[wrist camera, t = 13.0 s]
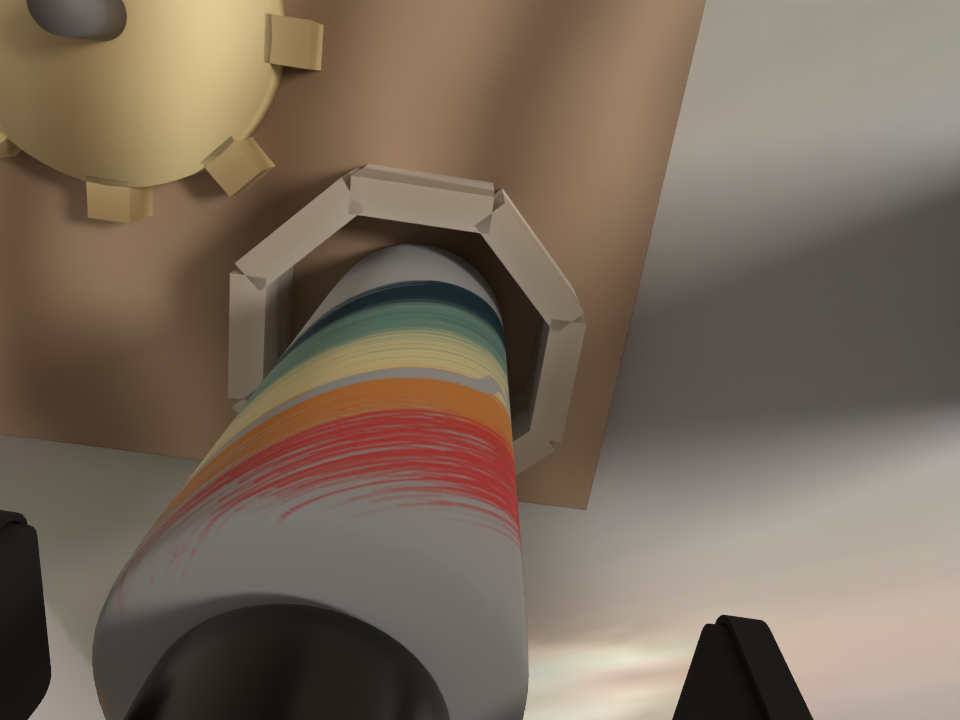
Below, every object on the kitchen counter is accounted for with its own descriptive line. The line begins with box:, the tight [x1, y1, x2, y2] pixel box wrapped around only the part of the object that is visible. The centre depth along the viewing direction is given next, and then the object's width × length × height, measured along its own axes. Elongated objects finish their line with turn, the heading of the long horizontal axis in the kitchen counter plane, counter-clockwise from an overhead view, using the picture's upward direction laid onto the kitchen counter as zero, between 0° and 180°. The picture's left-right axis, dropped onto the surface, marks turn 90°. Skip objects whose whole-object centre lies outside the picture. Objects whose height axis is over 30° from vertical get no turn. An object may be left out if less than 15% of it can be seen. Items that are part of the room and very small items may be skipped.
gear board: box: [0, 0, 706, 510], centre depth 21 cm, size 22×20×5 cm
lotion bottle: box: [92, 244, 529, 720], centre depth 14 cm, size 6×6×20 cm
